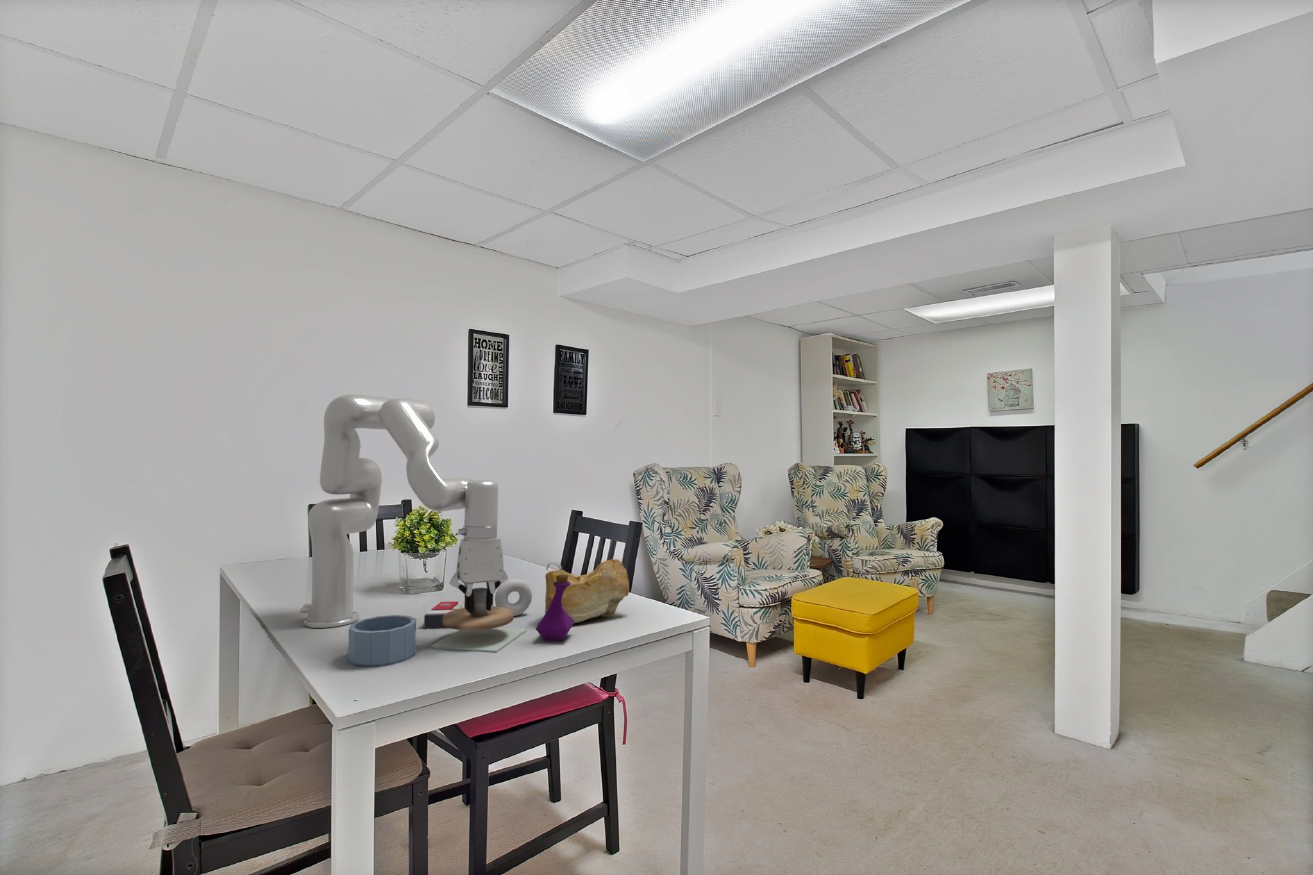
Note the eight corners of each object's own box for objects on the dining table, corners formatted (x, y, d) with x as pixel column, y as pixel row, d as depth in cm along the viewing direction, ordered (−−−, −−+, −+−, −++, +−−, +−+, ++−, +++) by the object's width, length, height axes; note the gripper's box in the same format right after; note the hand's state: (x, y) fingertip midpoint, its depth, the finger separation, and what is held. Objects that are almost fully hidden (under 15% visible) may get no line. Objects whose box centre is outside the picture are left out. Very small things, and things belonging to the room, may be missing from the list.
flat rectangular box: (480, 599, 167) (469, 611, 152) (480, 615, 166) (468, 628, 151) (439, 600, 165) (423, 612, 151) (439, 616, 165) (423, 629, 150)
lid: (428, 627, 136) (429, 594, 136) (464, 608, 152) (465, 579, 152) (494, 633, 133) (494, 600, 133) (524, 613, 148) (525, 584, 149)
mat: (430, 647, 136) (430, 645, 136) (466, 627, 151) (466, 625, 151) (496, 652, 132) (496, 650, 132) (526, 631, 148) (526, 629, 148)
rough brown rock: (611, 607, 175) (608, 554, 176) (636, 615, 160) (632, 558, 161) (532, 620, 164) (529, 564, 165) (551, 630, 149) (547, 569, 150)
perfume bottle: (574, 634, 146) (574, 559, 146) (567, 643, 138) (567, 565, 139) (544, 633, 147) (544, 558, 147) (535, 642, 139) (535, 564, 140)
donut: (496, 620, 158) (496, 581, 158) (493, 617, 161) (493, 579, 161) (533, 615, 163) (533, 578, 163) (529, 612, 166) (529, 575, 166)
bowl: (335, 664, 125) (335, 630, 125) (376, 644, 138) (376, 613, 138) (390, 668, 123) (391, 634, 123) (427, 648, 135) (427, 616, 135)
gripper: (449, 537, 135) (446, 619, 135) (520, 532, 144) (518, 609, 144) (440, 532, 141) (438, 611, 141) (509, 528, 150) (507, 602, 150)
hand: (478, 609), depth 142 cm, fingers closed on lid, 3 cm apart
